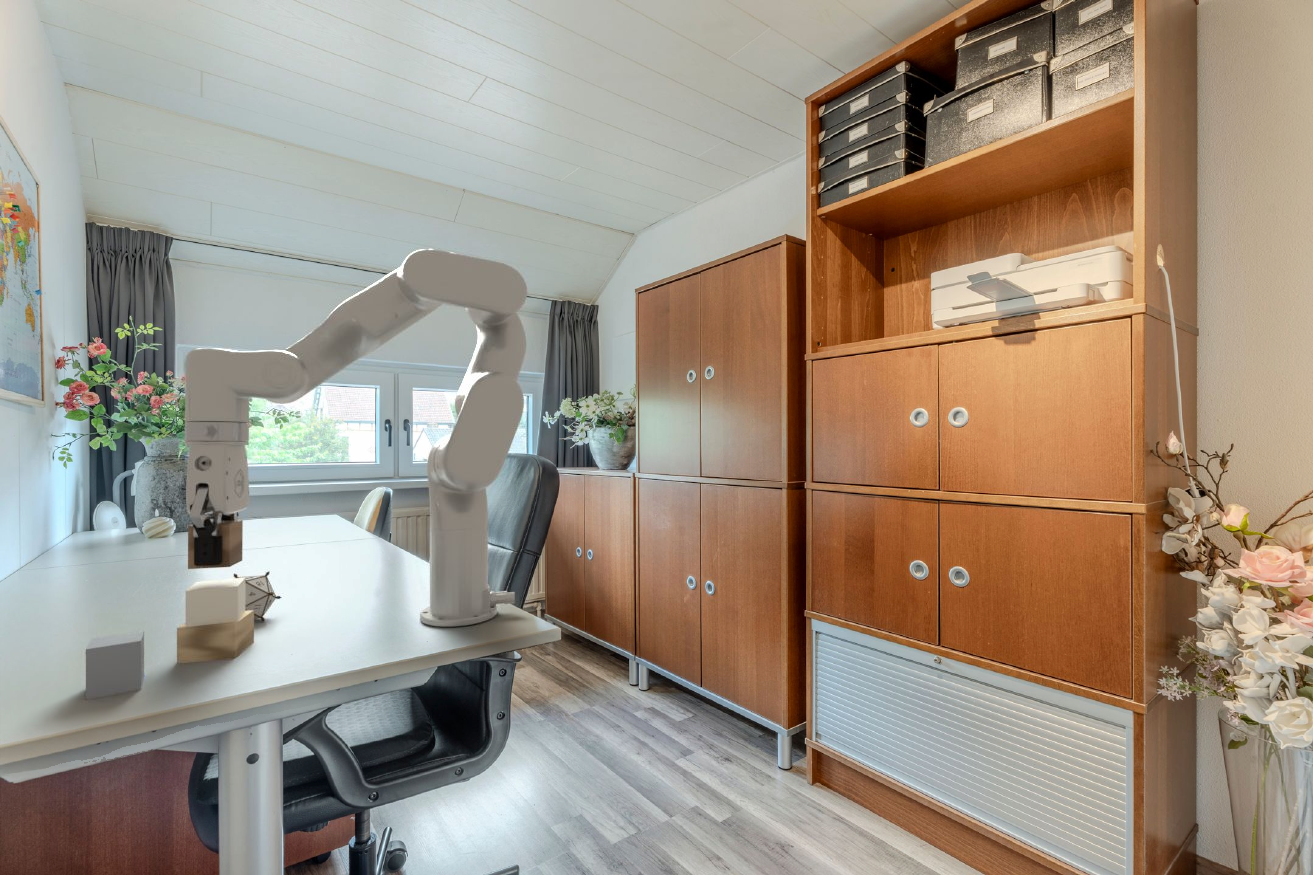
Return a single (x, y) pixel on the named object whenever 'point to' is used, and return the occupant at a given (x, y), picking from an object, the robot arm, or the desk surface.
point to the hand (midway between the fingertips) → (216, 559)
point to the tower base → (215, 640)
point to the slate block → (114, 664)
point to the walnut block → (230, 544)
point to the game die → (258, 594)
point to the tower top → (215, 602)
